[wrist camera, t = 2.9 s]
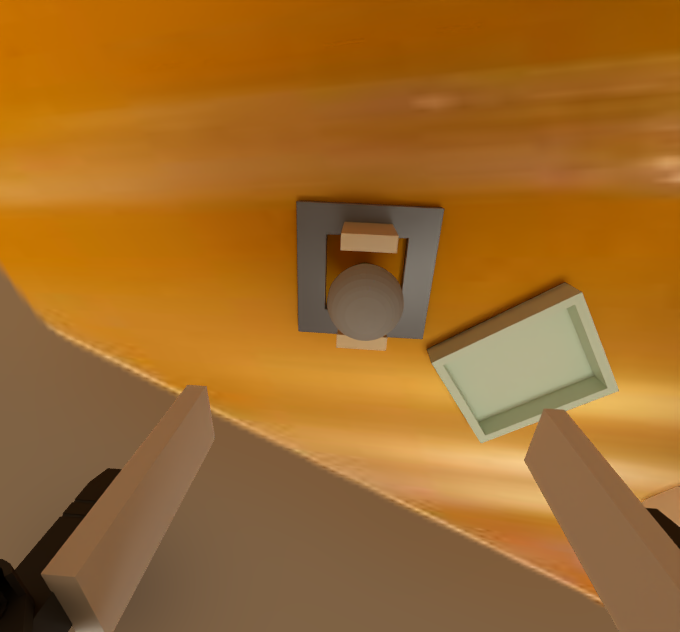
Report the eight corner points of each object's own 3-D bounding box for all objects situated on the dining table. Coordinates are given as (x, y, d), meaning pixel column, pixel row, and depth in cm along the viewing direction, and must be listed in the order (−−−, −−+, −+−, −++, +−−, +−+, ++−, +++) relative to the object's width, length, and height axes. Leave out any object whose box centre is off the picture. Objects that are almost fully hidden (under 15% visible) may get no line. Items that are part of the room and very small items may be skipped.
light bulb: (338, 302, 32) (329, 358, 23) (331, 246, 29) (317, 282, 20) (395, 297, 31) (409, 352, 22) (392, 239, 29) (407, 274, 20)
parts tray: (565, 282, 29) (581, 292, 27) (601, 375, 33) (619, 390, 31) (426, 349, 33) (431, 363, 31) (473, 426, 37) (481, 443, 35)
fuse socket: (298, 200, 28) (283, 209, 22) (441, 207, 27) (461, 218, 22) (300, 326, 33) (288, 358, 28) (420, 334, 33) (432, 368, 27)
